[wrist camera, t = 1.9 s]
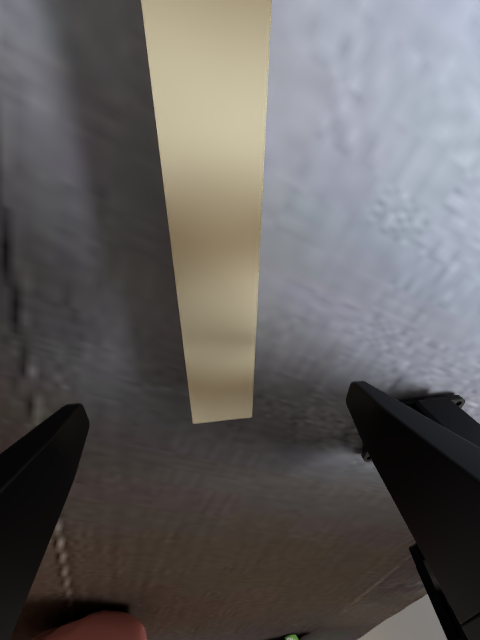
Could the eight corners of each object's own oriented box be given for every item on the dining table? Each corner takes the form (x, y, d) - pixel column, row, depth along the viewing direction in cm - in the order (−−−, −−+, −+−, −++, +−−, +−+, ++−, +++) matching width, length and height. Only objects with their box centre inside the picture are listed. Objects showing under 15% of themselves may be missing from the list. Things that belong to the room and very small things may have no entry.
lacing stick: (243, 377, 15) (252, 417, 12) (194, 382, 15) (192, 423, 12) (255, -283, 6) (304, -702, 3) (120, -319, 5) (37, -844, 3)
